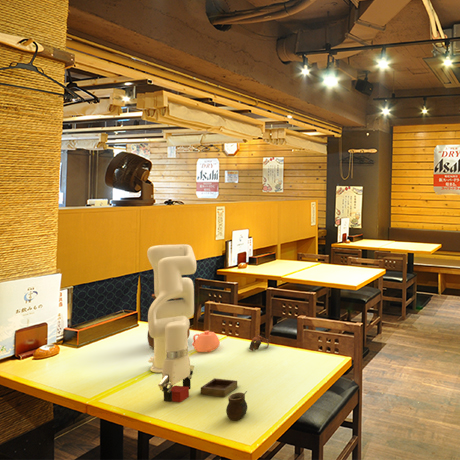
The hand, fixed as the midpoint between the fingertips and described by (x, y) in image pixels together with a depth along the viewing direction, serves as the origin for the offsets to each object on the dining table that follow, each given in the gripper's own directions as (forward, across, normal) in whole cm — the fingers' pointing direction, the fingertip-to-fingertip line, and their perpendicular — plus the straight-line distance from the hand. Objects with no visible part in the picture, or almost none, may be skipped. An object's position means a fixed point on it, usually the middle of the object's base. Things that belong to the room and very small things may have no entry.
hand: (177, 394), depth 146 cm
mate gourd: (+2, +7, +31) cm, 32 cm away
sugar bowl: (+1, -47, -24) cm, 53 cm away
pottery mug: (+1, -54, +3) cm, 54 cm away
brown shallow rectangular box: (+2, -9, +12) cm, 15 cm away
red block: (+2, 0, 0) cm, 2 cm away
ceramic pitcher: (+1, -49, -48) cm, 69 cm away
